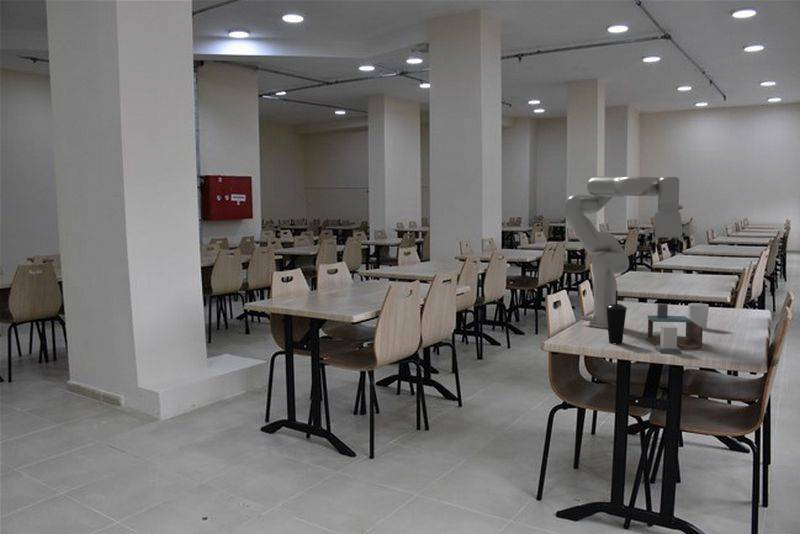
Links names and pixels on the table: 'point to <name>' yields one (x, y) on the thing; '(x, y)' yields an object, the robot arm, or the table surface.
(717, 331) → the table surface
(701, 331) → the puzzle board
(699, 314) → the white cup
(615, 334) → the drinking cup
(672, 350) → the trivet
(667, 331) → the block
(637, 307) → the table surface
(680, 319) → the cover
